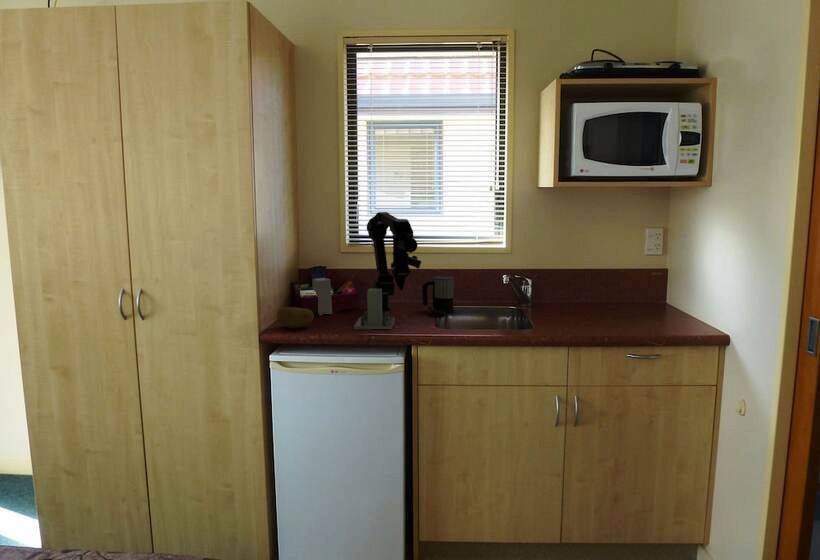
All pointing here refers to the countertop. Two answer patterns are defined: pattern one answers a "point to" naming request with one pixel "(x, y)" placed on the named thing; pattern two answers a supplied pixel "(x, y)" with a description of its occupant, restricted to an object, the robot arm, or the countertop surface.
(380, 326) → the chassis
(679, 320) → the countertop surface
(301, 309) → the potato
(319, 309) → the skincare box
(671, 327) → the countertop surface
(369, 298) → the plate
